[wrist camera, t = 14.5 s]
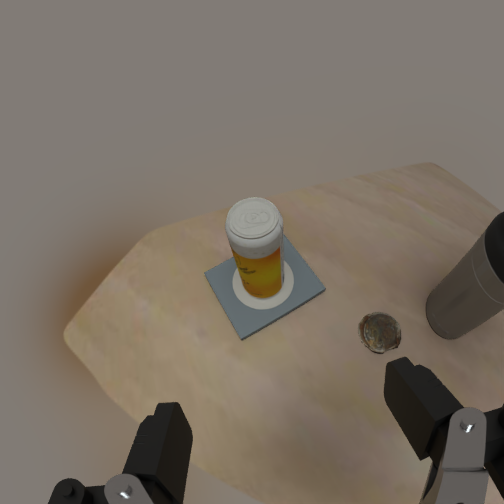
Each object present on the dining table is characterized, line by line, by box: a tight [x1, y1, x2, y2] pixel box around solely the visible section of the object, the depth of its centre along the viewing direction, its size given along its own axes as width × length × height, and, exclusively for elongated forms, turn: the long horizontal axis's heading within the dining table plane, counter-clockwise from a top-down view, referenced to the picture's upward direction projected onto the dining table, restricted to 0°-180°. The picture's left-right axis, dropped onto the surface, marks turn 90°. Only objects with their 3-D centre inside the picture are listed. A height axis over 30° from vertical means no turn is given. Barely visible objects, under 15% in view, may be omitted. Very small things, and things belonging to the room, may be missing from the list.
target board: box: [204, 234, 326, 340], centre depth 42 cm, size 14×12×1 cm
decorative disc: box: [358, 312, 401, 354], centre depth 36 cm, size 7×6×1 cm
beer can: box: [225, 197, 284, 298], centre depth 35 cm, size 6×6×15 cm
